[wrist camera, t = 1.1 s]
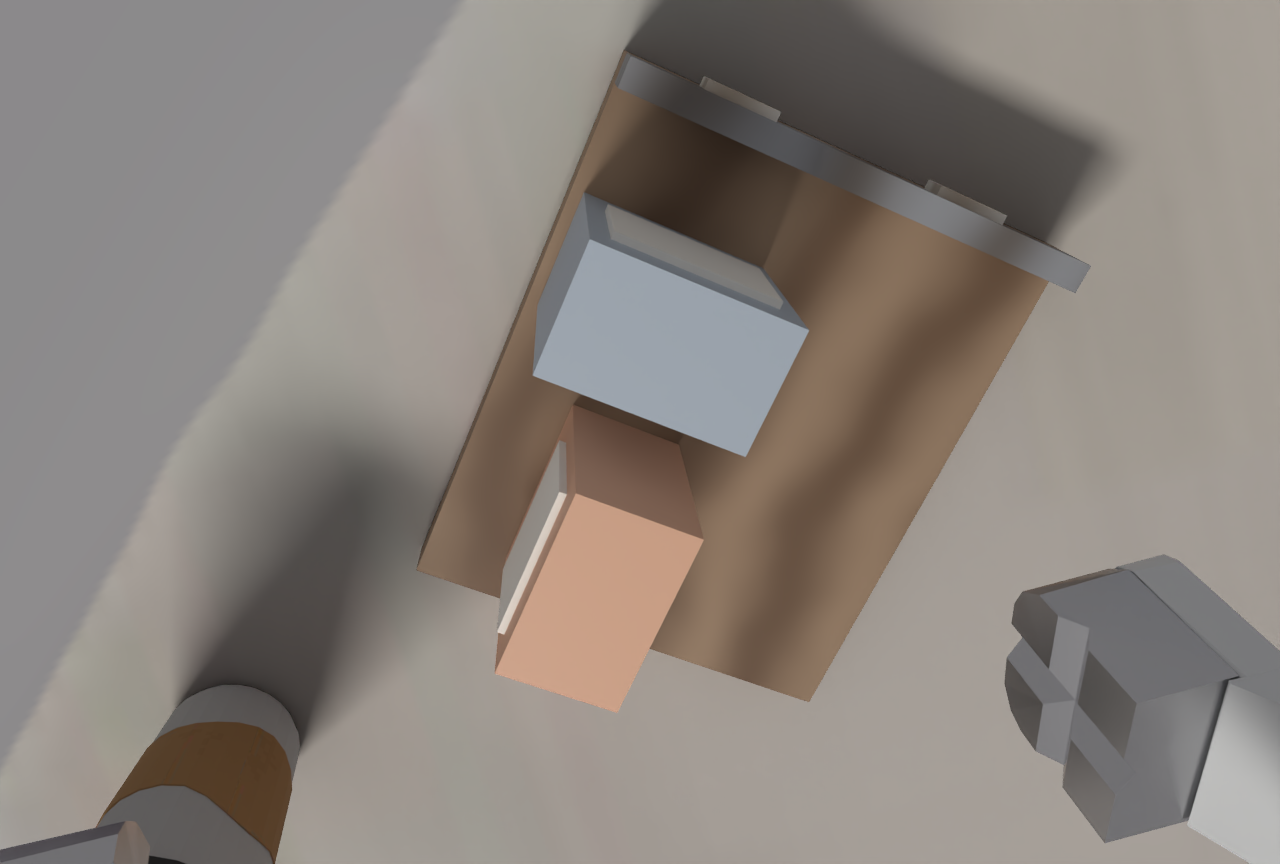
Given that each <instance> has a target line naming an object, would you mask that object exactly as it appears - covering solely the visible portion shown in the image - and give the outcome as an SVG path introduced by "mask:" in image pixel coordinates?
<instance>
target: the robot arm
mask: <svg viewBox="0 0 1280 864" xmlns="http://www.w3.org/2000/svg"><path fill="white" fill-rule="evenodd" d="M1012 625H1013V626H1014V627H1015V628H1016V630H1017V631H1018V632H1019V633H1020V634H1021V636H1022V637H1023V638H1022V639H1021V640H1020V642H1019V643H1018V644H1017V645H1016V647H1015V648H1014V649H1013V650H1012V652H1011V653H1010V654H1009V656H1008V657H1007V661H1006V673H1005V687H1006V691H1007V696H1008V700H1009V704H1010V708H1011V711H1012V713H1013V716H1014V718H1015V720H1016V722H1017V724H1018V726H1019V728H1020V730H1021V731H1022V733H1023V734H1024V736H1025V737H1026V738H1027V740H1028V741H1029V743H1030V744H1031V745H1032V747H1033V748H1034V750H1035V751H1036V752H1038V753H1040V754H1042V755H1045V756H1047V757H1049V758H1051V759H1053V760H1055V761H1057V762H1059V763H1061V764H1063V765H1064V768H1063V789H1064V790H1065V791H1066V792H1067V794H1068V795H1069V796H1070V798H1071V799H1072V800H1073V802H1074V803H1075V804H1076V806H1077V807H1078V808H1079V810H1080V811H1081V812H1082V814H1083V815H1084V816H1085V818H1086V819H1087V820H1088V822H1089V823H1090V824H1091V826H1092V827H1093V828H1094V829H1095V831H1096V832H1097V833H1098V835H1099V836H1100V837H1101V839H1102V840H1103V841H1104V843H1107V842H1111V841H1114V840H1118V839H1122V838H1125V837H1129V836H1133V835H1137V834H1140V833H1144V832H1148V831H1151V830H1155V829H1159V828H1162V827H1166V826H1170V825H1173V824H1177V823H1181V822H1184V821H1188V820H1189V821H1188V824H1187V826H1189V827H1190V828H1192V829H1194V830H1195V831H1197V832H1199V833H1200V834H1202V835H1204V836H1205V837H1207V838H1209V839H1210V840H1212V841H1214V842H1215V843H1217V844H1219V845H1220V846H1222V847H1224V848H1225V849H1227V850H1229V851H1230V852H1232V853H1234V854H1235V855H1237V856H1238V857H1240V858H1242V859H1243V860H1245V861H1247V862H1248V863H1250V864H1280V651H1279V650H1278V649H1277V648H1276V647H1275V646H1274V645H1272V644H1271V643H1270V642H1269V641H1268V640H1267V639H1266V638H1265V637H1264V636H1262V635H1261V634H1260V633H1259V632H1258V631H1257V630H1256V629H1255V628H1254V627H1252V626H1251V625H1250V624H1249V623H1248V622H1247V621H1246V620H1245V619H1244V618H1242V617H1241V616H1240V615H1239V614H1238V613H1237V612H1236V611H1235V610H1233V609H1232V608H1231V607H1230V606H1229V605H1228V604H1227V603H1226V602H1225V601H1223V600H1222V599H1221V598H1220V597H1219V596H1218V595H1217V594H1216V593H1215V592H1213V591H1212V590H1211V589H1210V588H1209V587H1208V586H1207V585H1206V584H1205V583H1203V582H1202V581H1201V580H1200V579H1199V578H1198V577H1197V576H1196V575H1194V574H1193V573H1192V572H1191V571H1190V570H1189V569H1188V568H1187V567H1186V566H1184V565H1183V564H1182V563H1181V562H1180V561H1178V560H1177V559H1174V558H1171V557H1169V556H1166V555H1160V556H1156V557H1153V558H1149V559H1145V560H1141V561H1137V562H1134V563H1130V564H1126V565H1122V566H1118V567H1116V568H1115V569H1106V570H1102V571H1099V572H1095V573H1091V574H1087V575H1084V576H1080V577H1076V578H1072V579H1069V580H1065V581H1061V582H1057V583H1054V584H1050V585H1046V586H1042V587H1039V588H1035V589H1031V590H1027V591H1024V592H1022V593H1021V595H1020V596H1019V598H1018V599H1017V601H1016V602H1015V604H1014V611H1013V617H1012ZM149 852H150V845H149V844H148V842H147V840H146V838H145V836H144V835H143V833H142V831H141V829H140V828H139V826H138V824H137V822H134V821H123V822H119V823H114V824H110V825H106V826H101V827H97V828H93V829H88V830H84V831H80V832H75V833H71V834H67V835H62V836H58V837H54V838H49V839H45V840H40V841H36V842H32V843H27V844H23V845H19V846H14V847H10V848H6V849H1V850H0V864H148V860H149Z"/></svg>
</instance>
